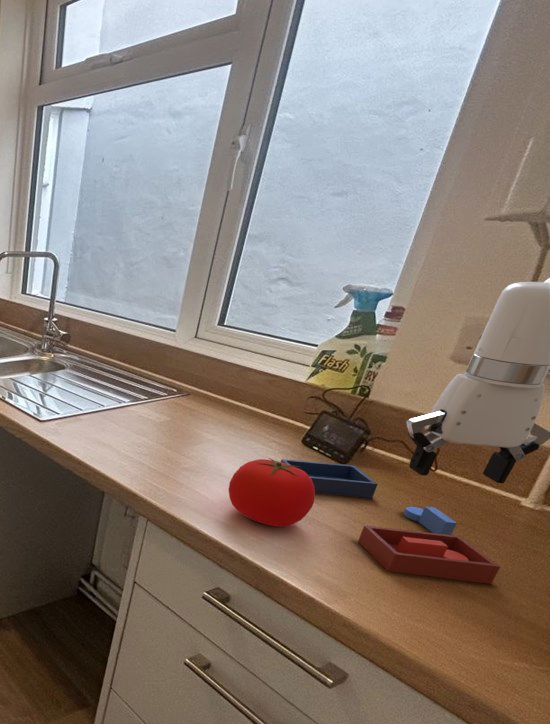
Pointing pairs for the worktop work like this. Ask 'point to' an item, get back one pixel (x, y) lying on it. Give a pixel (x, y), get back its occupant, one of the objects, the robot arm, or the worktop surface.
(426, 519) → the blue stepped block
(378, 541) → the red tub
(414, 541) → the red stepped block
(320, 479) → the blue tub
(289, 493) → the tomato
